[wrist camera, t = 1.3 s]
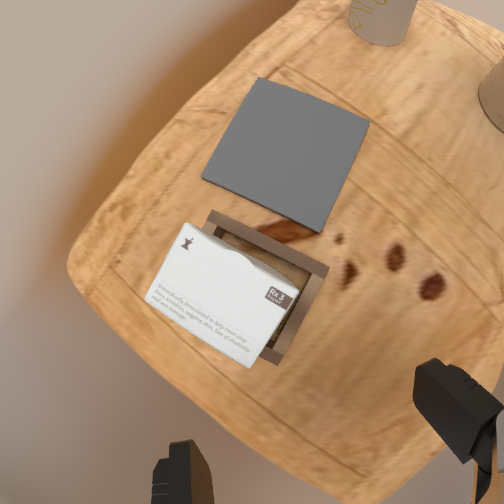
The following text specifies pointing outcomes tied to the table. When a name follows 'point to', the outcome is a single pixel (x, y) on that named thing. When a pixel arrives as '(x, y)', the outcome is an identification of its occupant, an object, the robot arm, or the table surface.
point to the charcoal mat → (287, 152)
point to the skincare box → (221, 294)
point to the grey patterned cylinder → (381, 20)
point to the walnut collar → (318, 271)
